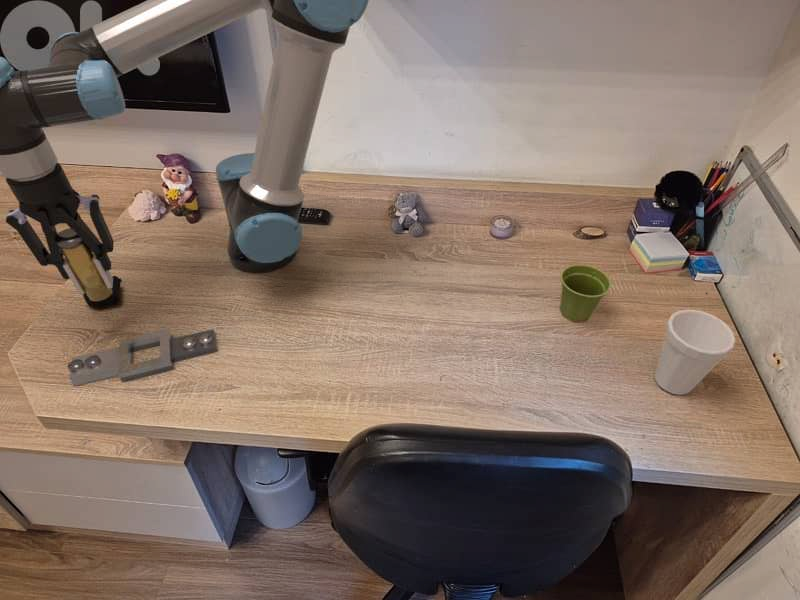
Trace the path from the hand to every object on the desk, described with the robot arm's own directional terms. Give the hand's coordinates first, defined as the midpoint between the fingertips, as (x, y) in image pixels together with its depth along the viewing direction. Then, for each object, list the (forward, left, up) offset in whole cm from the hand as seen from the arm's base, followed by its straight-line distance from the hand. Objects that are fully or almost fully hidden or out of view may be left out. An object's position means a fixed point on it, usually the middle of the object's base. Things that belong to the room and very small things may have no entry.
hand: (96, 286), depth 94 cm
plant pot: (-86, +26, -11) cm, 91 cm away
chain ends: (-5, +10, -11) cm, 16 cm away
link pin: (0, 0, -2) cm, 2 cm away
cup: (-92, +47, -11) cm, 104 cm away
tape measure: (+2, -10, -11) cm, 15 cm away
